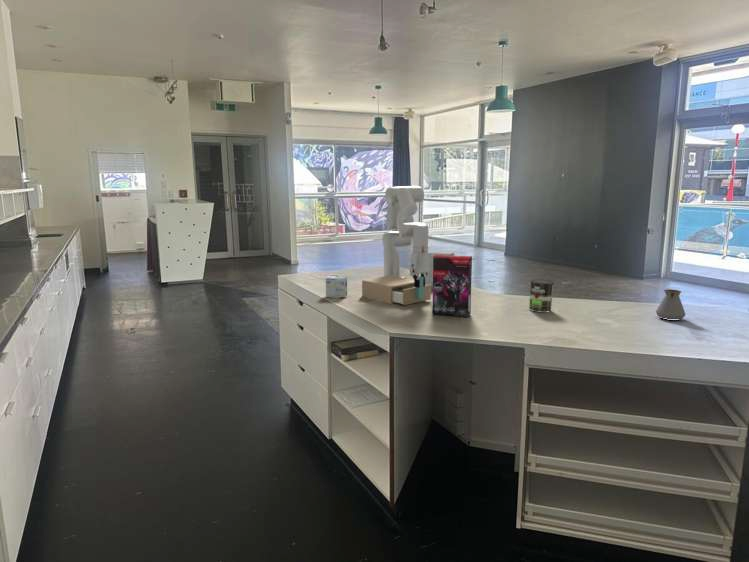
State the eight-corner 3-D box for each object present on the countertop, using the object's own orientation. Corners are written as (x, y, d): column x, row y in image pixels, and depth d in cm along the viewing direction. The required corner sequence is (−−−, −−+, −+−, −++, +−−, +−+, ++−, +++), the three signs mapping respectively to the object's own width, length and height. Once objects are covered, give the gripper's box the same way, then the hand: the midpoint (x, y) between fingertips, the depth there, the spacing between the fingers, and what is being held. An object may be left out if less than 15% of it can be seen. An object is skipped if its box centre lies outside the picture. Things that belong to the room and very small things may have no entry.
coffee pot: (656, 314, 238) (659, 282, 235) (684, 317, 232) (688, 285, 229) (652, 325, 220) (656, 290, 217) (684, 329, 214) (688, 294, 211)
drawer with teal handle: (400, 292, 278) (401, 268, 276) (434, 300, 261) (434, 274, 258) (374, 297, 266) (374, 273, 263) (407, 306, 248) (407, 279, 246)
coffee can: (545, 314, 238) (547, 284, 235) (525, 310, 244) (526, 281, 242) (555, 310, 245) (557, 281, 242) (535, 306, 252) (536, 278, 249)
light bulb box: (347, 295, 275) (347, 275, 273) (345, 298, 269) (345, 278, 267) (328, 295, 276) (327, 275, 274) (325, 298, 270) (325, 277, 268)
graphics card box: (431, 314, 237) (432, 256, 231) (434, 311, 243) (436, 254, 238) (468, 318, 231) (470, 258, 226) (470, 314, 237) (473, 255, 232)
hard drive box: (454, 287, 298) (455, 252, 295) (448, 289, 292) (449, 254, 288) (429, 284, 307) (430, 251, 303) (424, 286, 300) (424, 252, 296)
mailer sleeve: (389, 291, 286) (389, 275, 284) (418, 298, 270) (418, 281, 268) (362, 296, 273) (362, 280, 271) (390, 304, 256) (390, 286, 255)
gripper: (426, 247, 258) (425, 283, 262) (402, 250, 248) (402, 287, 251) (437, 249, 253) (436, 285, 256) (414, 252, 242) (413, 290, 246)
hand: (419, 286), depth 254 cm, fingers closed on drawer with teal handle, 3 cm apart
